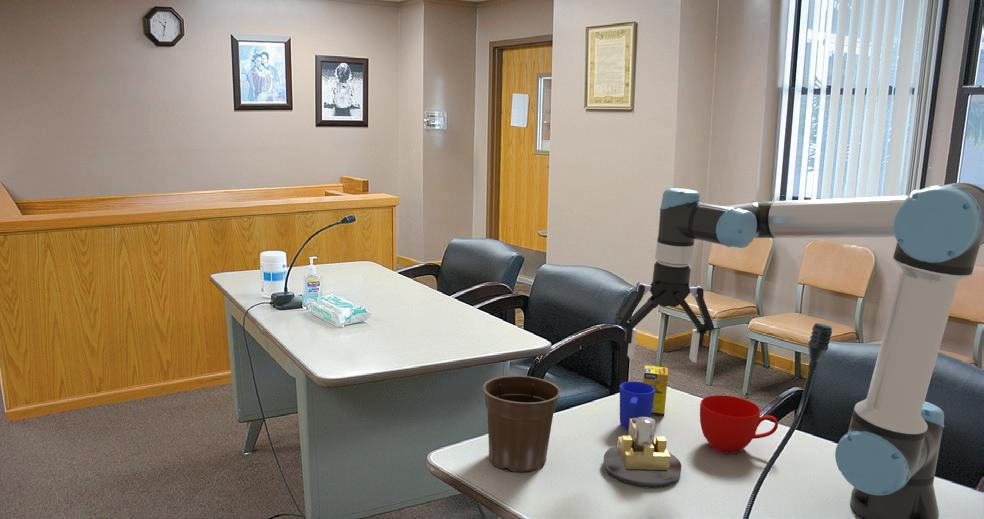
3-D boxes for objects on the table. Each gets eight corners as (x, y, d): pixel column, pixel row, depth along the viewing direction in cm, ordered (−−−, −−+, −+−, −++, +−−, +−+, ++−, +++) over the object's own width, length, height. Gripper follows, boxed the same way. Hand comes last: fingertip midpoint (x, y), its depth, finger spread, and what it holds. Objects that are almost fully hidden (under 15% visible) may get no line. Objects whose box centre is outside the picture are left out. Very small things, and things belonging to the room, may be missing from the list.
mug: (611, 437, 179) (615, 396, 177) (619, 418, 191) (622, 379, 189) (648, 443, 177) (651, 401, 175) (653, 423, 188) (656, 384, 186)
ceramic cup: (776, 467, 168) (781, 423, 166) (695, 454, 172) (699, 412, 170) (772, 443, 180) (777, 402, 178) (697, 431, 184) (701, 391, 182)
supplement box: (664, 417, 192) (668, 375, 190) (640, 414, 194) (643, 372, 191) (664, 408, 198) (668, 367, 196) (640, 405, 199) (643, 364, 197)
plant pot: (527, 437, 177) (531, 370, 174) (571, 466, 164) (576, 394, 161) (465, 452, 169) (468, 381, 165) (507, 484, 155) (511, 408, 152)
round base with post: (693, 468, 165) (697, 420, 163) (659, 496, 153) (664, 444, 151) (626, 446, 175) (629, 399, 173) (589, 470, 163) (592, 421, 160)
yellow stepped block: (669, 469, 159) (671, 445, 158) (625, 468, 159) (627, 444, 158) (652, 440, 173) (654, 417, 172) (612, 439, 173) (614, 416, 172)
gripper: (725, 261, 167) (712, 355, 172) (610, 255, 166) (601, 350, 170) (737, 270, 160) (724, 367, 165) (617, 263, 158) (607, 362, 163)
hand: (661, 358), depth 167 cm, fingers open, 13 cm apart
